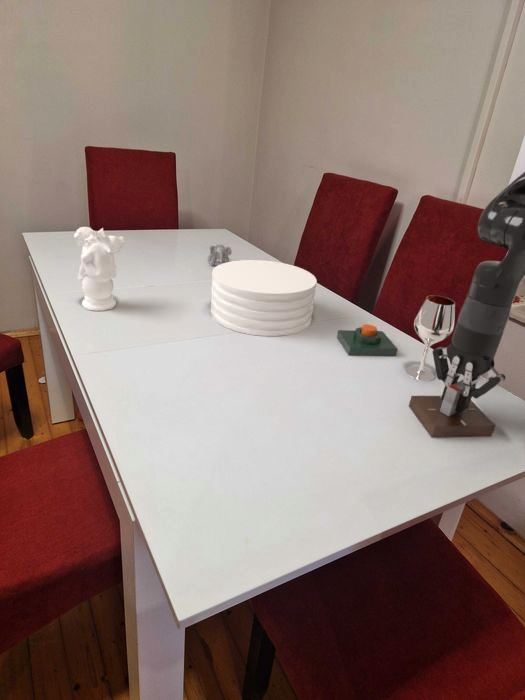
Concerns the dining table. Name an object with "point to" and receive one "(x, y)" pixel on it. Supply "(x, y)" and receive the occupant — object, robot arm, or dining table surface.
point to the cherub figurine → (97, 267)
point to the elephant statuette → (219, 254)
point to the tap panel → (450, 419)
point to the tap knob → (451, 398)
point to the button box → (366, 343)
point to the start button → (368, 330)
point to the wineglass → (432, 329)
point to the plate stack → (262, 297)
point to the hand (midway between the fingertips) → (453, 406)
